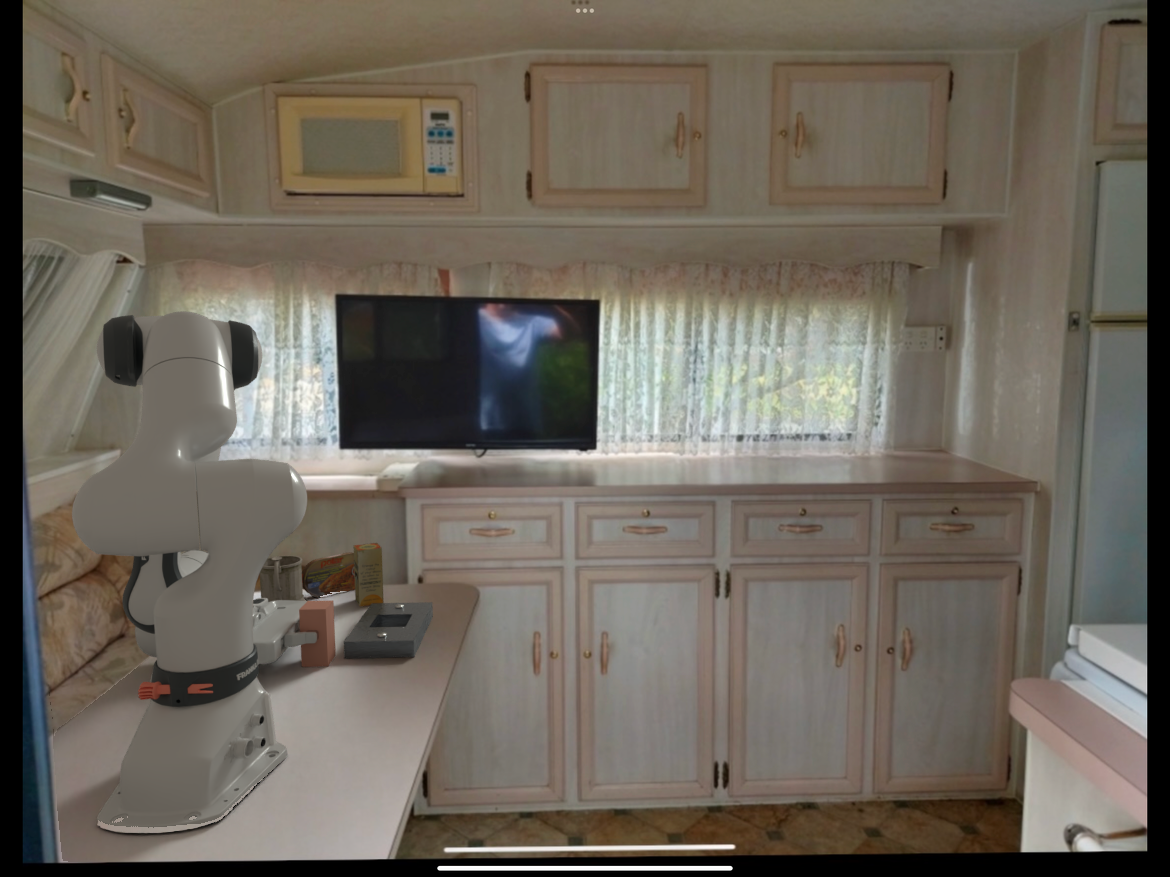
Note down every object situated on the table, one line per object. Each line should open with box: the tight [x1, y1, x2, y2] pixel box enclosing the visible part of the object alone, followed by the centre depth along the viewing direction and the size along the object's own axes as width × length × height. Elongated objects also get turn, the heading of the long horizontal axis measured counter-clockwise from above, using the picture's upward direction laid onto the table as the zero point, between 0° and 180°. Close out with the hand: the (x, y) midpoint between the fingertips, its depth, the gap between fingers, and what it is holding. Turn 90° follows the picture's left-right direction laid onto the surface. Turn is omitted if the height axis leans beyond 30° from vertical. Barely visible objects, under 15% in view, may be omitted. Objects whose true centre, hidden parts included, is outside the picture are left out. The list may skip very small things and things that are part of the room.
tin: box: [302, 552, 355, 598], centre depth 164 cm, size 15×3×8 cm, turn 133°
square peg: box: [299, 600, 337, 668], centre depth 127 cm, size 4×4×10 cm
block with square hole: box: [343, 601, 434, 659], centre depth 139 cm, size 20×12×3 cm, turn 2°
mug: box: [259, 555, 308, 602], centre depth 153 cm, size 14×10×12 cm
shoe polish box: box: [353, 542, 385, 608], centre depth 158 cm, size 5×5×12 cm
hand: (322, 630), depth 127 cm, fingers closed on square peg, 4 cm apart
